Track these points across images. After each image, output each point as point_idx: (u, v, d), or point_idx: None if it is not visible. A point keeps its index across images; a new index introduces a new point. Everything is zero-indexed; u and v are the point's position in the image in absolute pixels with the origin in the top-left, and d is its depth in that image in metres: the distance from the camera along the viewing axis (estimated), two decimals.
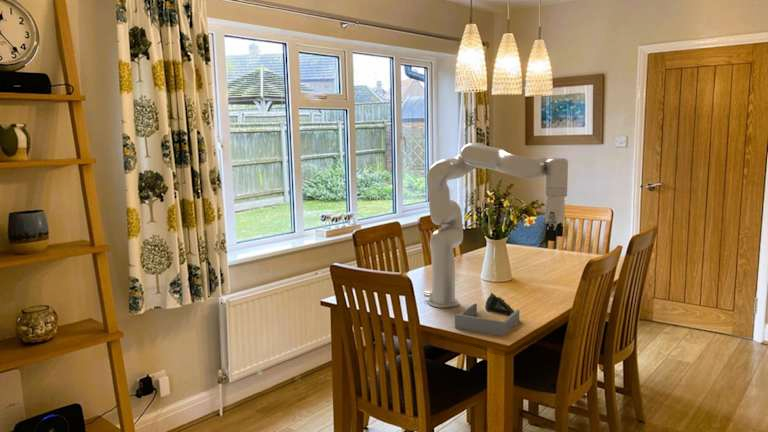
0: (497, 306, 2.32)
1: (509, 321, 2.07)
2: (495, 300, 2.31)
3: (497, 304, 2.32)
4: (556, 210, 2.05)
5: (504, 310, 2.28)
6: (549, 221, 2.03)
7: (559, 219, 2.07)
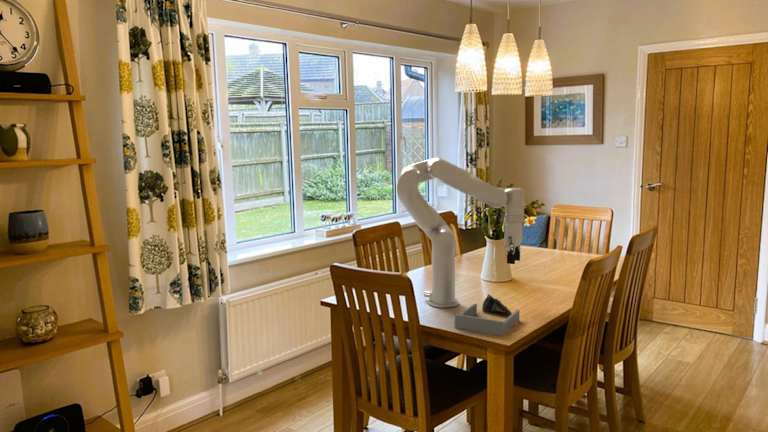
0: (494, 307, 2.30)
1: (509, 321, 2.07)
2: (492, 301, 2.29)
3: (494, 305, 2.30)
4: (513, 235, 2.29)
5: (501, 311, 2.27)
6: (507, 248, 2.29)
7: (516, 243, 2.31)
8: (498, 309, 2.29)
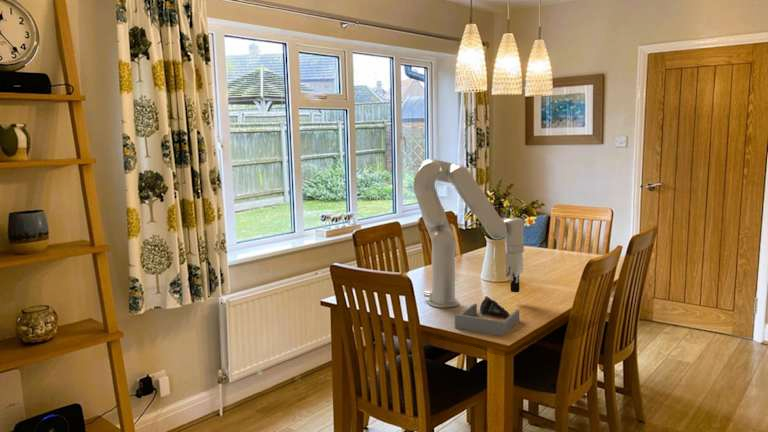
0: (491, 309, 2.28)
1: (509, 321, 2.07)
2: (489, 303, 2.27)
3: (491, 307, 2.28)
4: (514, 265, 2.31)
5: (499, 313, 2.25)
6: (511, 280, 2.33)
7: (517, 272, 2.33)
8: (495, 311, 2.27)
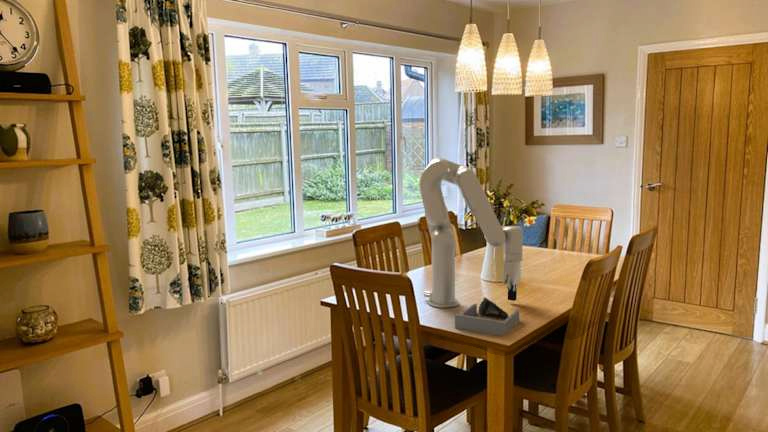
0: (489, 310, 2.27)
1: (509, 321, 2.07)
2: (487, 304, 2.25)
3: (489, 308, 2.27)
4: (512, 274, 2.31)
5: (497, 314, 2.23)
6: (508, 288, 2.32)
7: (515, 281, 2.32)
8: (494, 312, 2.25)
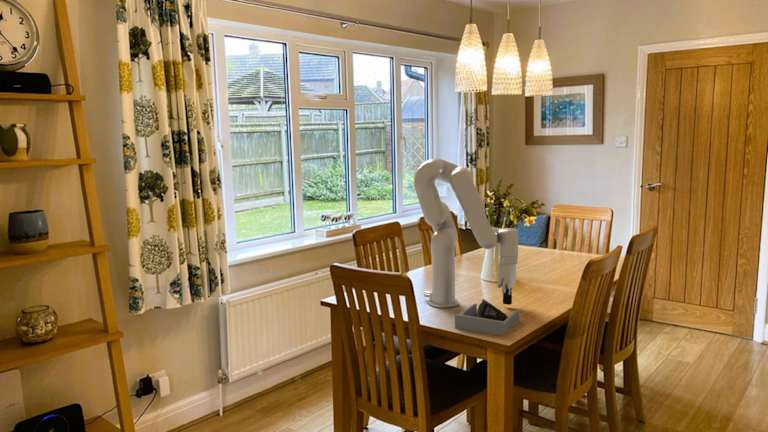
0: (486, 312, 2.25)
1: (509, 321, 2.07)
2: (485, 306, 2.23)
3: (486, 310, 2.25)
4: (507, 277, 2.26)
5: (496, 316, 2.21)
6: (503, 292, 2.27)
7: (510, 284, 2.27)
8: (492, 314, 2.23)
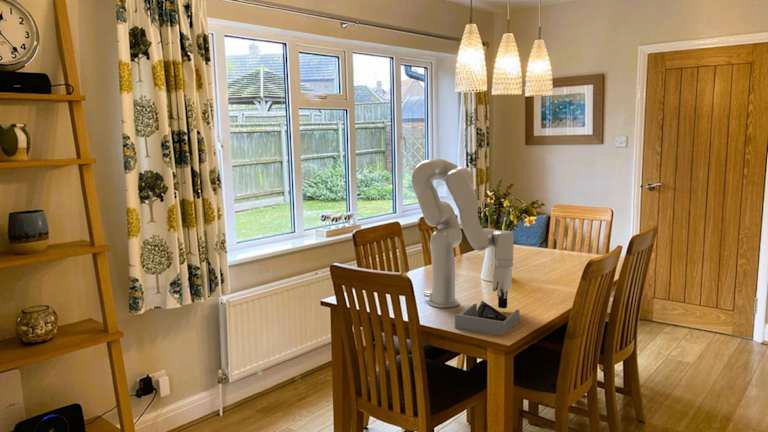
0: (485, 314, 2.23)
1: (509, 321, 2.07)
2: (484, 308, 2.21)
3: (485, 312, 2.23)
4: (502, 280, 2.21)
5: (494, 318, 2.20)
6: (498, 296, 2.22)
7: (505, 288, 2.22)
8: (490, 315, 2.21)
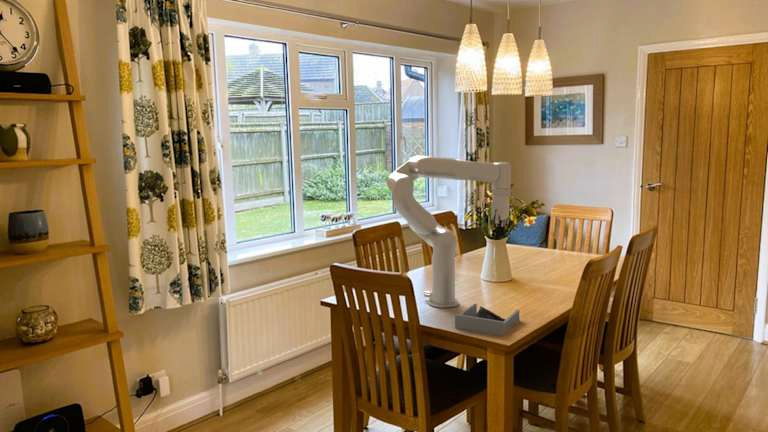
0: None
1: (509, 321, 2.07)
2: (481, 313, 2.15)
3: (481, 317, 2.16)
4: (500, 208, 2.35)
5: None
6: (496, 223, 2.36)
7: (503, 216, 2.36)
8: None
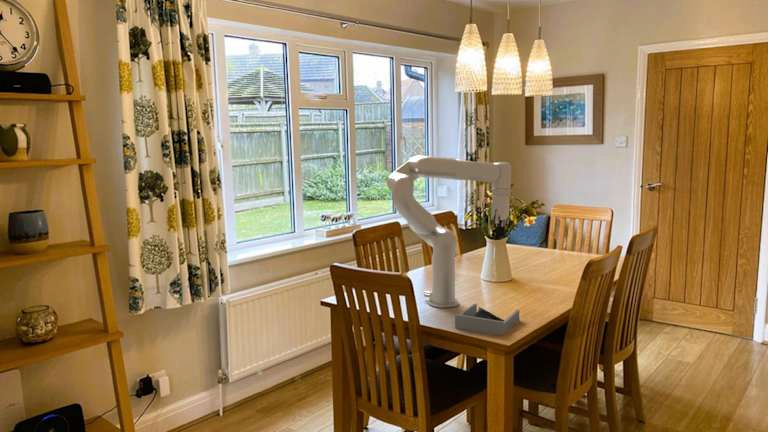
0: None
1: (509, 321, 2.07)
2: (479, 314, 2.14)
3: None
4: (500, 208, 2.35)
5: None
6: (496, 223, 2.36)
7: (503, 216, 2.36)
8: None
